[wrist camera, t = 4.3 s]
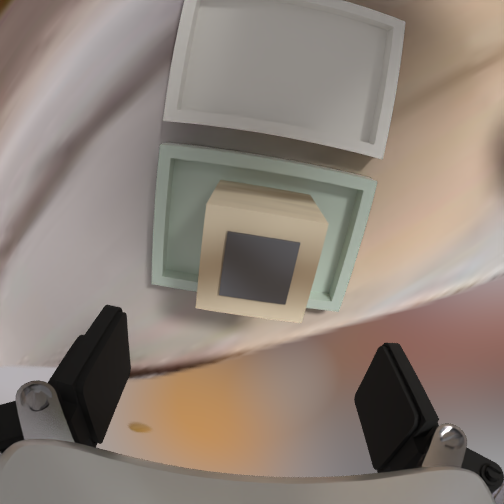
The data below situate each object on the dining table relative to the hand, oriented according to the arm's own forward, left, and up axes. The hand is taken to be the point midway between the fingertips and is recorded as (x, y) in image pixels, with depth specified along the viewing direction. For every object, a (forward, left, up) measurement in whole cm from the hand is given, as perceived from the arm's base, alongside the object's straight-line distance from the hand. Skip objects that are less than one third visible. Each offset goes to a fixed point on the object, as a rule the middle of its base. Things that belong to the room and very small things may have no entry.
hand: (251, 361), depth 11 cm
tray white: (-12, 0, -13) cm, 17 cm away
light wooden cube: (-1, 0, -12) cm, 12 cm away
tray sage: (-1, 0, -13) cm, 13 cm away
